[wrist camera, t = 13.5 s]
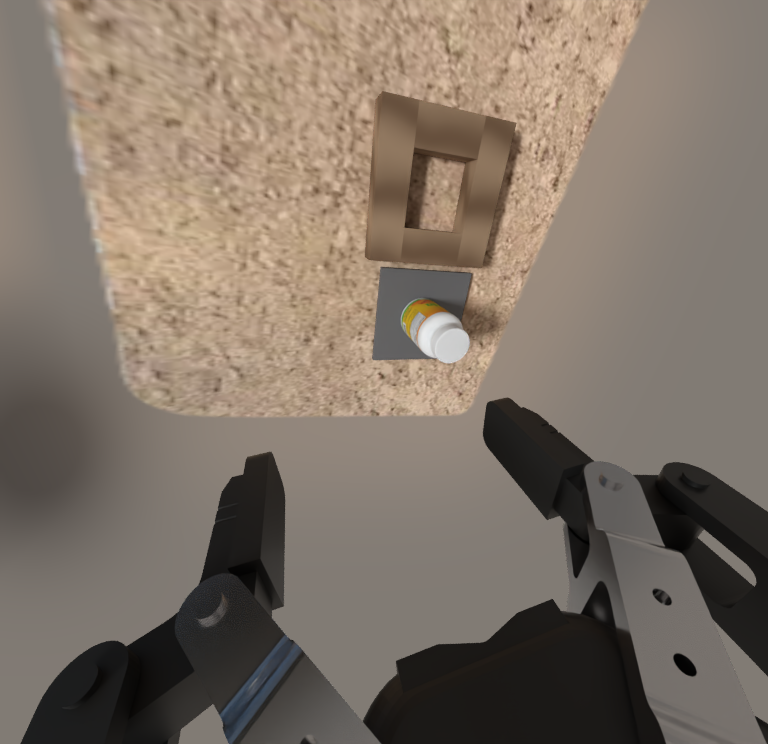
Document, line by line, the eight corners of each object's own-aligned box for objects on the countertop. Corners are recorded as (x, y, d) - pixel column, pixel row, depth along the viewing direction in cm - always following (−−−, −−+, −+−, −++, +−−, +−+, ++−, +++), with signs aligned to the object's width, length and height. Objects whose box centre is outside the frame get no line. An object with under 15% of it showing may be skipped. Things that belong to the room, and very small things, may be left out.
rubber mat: (380, 266, 36) (382, 267, 35) (469, 272, 39) (471, 273, 39) (372, 358, 41) (373, 360, 41) (450, 356, 45) (452, 358, 44)
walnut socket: (375, 99, 28) (382, 91, 26) (501, 128, 32) (516, 122, 30) (364, 256, 35) (369, 260, 33) (471, 264, 39) (481, 268, 37)
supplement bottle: (445, 305, 40) (485, 331, 32) (426, 341, 42) (460, 374, 33) (411, 290, 38) (445, 314, 29) (392, 329, 39) (420, 361, 31)
